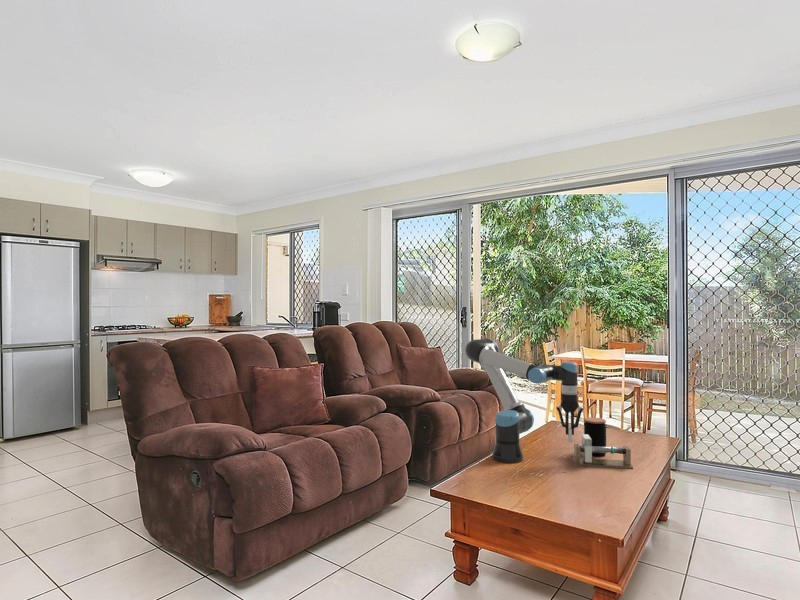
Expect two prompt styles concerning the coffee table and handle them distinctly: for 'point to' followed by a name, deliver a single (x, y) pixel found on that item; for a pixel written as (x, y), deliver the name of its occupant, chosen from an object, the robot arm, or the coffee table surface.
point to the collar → (587, 448)
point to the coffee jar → (596, 432)
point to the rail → (604, 462)
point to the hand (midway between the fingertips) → (569, 441)
